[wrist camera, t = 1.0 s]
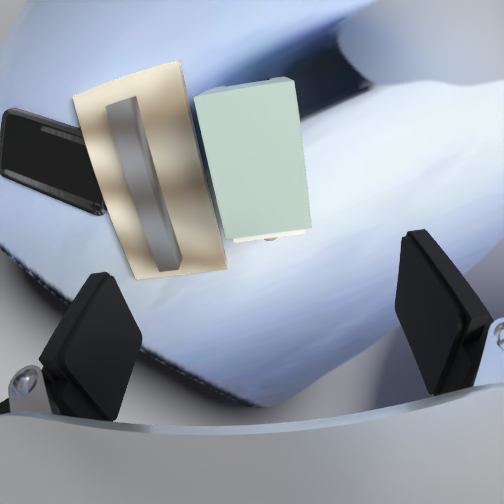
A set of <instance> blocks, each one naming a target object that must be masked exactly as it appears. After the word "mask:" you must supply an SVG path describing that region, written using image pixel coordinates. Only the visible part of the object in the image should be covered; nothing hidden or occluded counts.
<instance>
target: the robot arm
mask: <svg viewBox="0 0 504 504" xmlns="http://www.w3.org/2000/svg"><path fill="white" fill-rule="evenodd" d="M395 311H396V314H397V317H398V319H399V321H400V324H401V326H402V328H403V330H404V333H405V335H406V338H407V339H408V342H409V345H410V347H411V349H412V352H413V354H414V357H415V359H416V362H417V364H418V367H419V370H420V372H421V374H422V377H423V380H424V382H425V385H426V388H427V391H428V392H429V394H434V397H430V398H426V399H422V400H418V401H413V402H409V403H405V404H400V405H395V406H391V407H386V408H381V409H376V410H371V411H366V412H360V413H354V414H349V415H342V416H336V417H329V418H322V419H315V420H306V421H297V422H286V423H275V424H261V425H245V426H211V427H210V426H208V427H207V426H205V427H204V426H199V427H198V426H196V427H195V426H192V427H191V426H160V425H143V424H129V423H119V422H113V421H114V420H116V418H117V416H118V413H119V410H120V407H121V403H122V400H123V397H124V394H125V391H126V388H127V385H128V381H129V379H130V376H131V373H132V369H133V367H134V364H135V361H136V358H137V355H138V352H139V349H140V347H141V344H142V334H141V331H140V329H139V327H138V326H137V324H136V322H135V320H134V318H133V316H132V314H131V312H130V310H129V308H128V306H127V304H126V301H125V299H124V297H123V295H122V293H121V291H120V289H119V287H118V285H117V282H116V280H115V278H114V277H113V276H110V274H109V273H107V272H101V273H93V274H91V275H90V276H89V277H88V279H87V280H86V282H85V283H84V285H83V286H82V288H81V290H80V291H79V293H78V294H77V296H76V297H75V299H74V300H73V302H72V303H71V305H70V307H69V308H68V310H67V311H66V313H65V315H64V316H63V318H62V320H61V321H60V323H59V325H58V326H57V328H56V330H55V331H54V333H53V335H52V336H51V338H50V340H49V341H48V343H47V345H46V347H45V348H44V350H43V352H42V354H41V356H40V357H39V361H40V362H41V363H42V365H43V368H42V370H41V369H40V368H39V367H38V366H35V365H30V366H26V367H24V368H22V369H20V370H19V371H18V372H17V373H16V374H15V375H14V376H13V378H12V379H11V381H10V384H9V387H8V394H9V398H7V399H6V400H4V401H3V402H1V403H0V504H504V318H500V319H497V320H495V321H494V320H493V319H492V317H491V316H490V313H489V312H488V311H487V309H486V307H485V306H484V305H483V303H482V302H481V301H480V299H479V297H478V296H477V294H476V293H475V292H474V291H473V289H472V288H471V286H470V285H469V284H468V282H467V281H466V279H465V278H464V277H463V275H462V274H461V273H460V271H459V270H458V269H457V268H456V266H455V265H454V264H453V262H452V261H451V260H450V259H449V257H448V256H447V255H446V254H445V252H444V251H443V250H442V249H441V247H440V246H439V245H438V244H437V242H436V241H435V240H434V239H433V238H432V236H431V235H430V234H429V233H428V232H427V231H426V230H425V229H422V230H414V231H408V232H407V234H406V236H405V237H402V240H401V252H400V263H399V273H398V282H397V291H396V299H395Z"/></svg>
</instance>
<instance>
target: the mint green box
mask: <svg viewBox="0 0 504 504" xmlns="http://www.w3.org/2000/svg"><path fill="white" fill-rule="evenodd" d="M194 102H195V107H196V111H197V116H198V120H199V125H200V129H201V134H202V138H203V143H204V147H205V152H206V156H207V160H208V165H209V169H210V174H211V178H212V182H213V186H214V191H215V195H216V199H217V204H218V208H219V212H220V216H221V220H222V225H223V229H224V233H225V237H226V239H233V242H234V243H237V242H245V241H252V240H260V239H264V240H267V241H271V240H275V239H276V238H278V237H282V236H290V235H298V234H305V233H306V230H305V229H308V228H311V216H310V206H309V196H308V186H307V176H306V167H305V159H304V150H303V142H302V134H301V126H300V119H299V112H298V105H297V98H296V91H295V84H294V81H293V80H291V79H289V78H286V77H277V78H270V80H266V81H259V82H252V83H246V84H240V85H234V86H228V87H226V86H221V87H216V88H211V89H209V90H207V91H205V92H203V93H201V94H199V95H197V96H196V97H194Z"/></svg>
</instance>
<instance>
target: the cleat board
mask: <svg viewBox="0 0 504 504" xmlns="http://www.w3.org/2000/svg"><path fill="white" fill-rule="evenodd" d="M72 97H73V101H74V105H75V108H76V112H77V116H78V119H79V123H80V127H81V130H82V134H83V137H84V140H85V144H86V147H87V150H88V153H89V157H90V160H91V163H92V166H93V169H94V172H95V175H96V178H97V181H98V184H99V187H100V190H101V192H102V195H103V198H104V201H105V204H106V206H107V209H108V212H109V214H110V217H111V220H112V222H113V225H114V228H115V230H116V233H117V235H118V238H119V240H120V243H121V245H122V248H123V250H124V253H125V255H126V257H127V260H128V262H129V264H130V267H131V269H132V271H133V274H134V276H135V278H136V280H141V279H150V278H159V277H167V276H176V275H184V274H193V273H201V272H209V271H217V270H226V269H227V260H226V256H225V252H224V248H223V244H222V240H221V236H220V232H219V228H218V224H217V220H216V216H215V211H214V207H213V203H212V199H211V195H210V191H209V187H208V182H207V178H206V174H205V170H204V165H203V161H202V157H201V153H200V148H199V144H198V140H197V135H196V131H195V126H194V122H193V118H192V113H191V109H190V104H189V99H188V95H187V90H186V86H185V81H184V76H183V72H182V67H181V62H180V60H177V61H173V62H169V63H165V64H162V65H158V66H155V67H151V68H148V69H145V70H142V71H138V72H135V73H132V74H129V75H126V76H123V77H120V78H117V79H115V80H112V81H109V82H106V83H104V84H101V85H98V86H96V87H93V88H91V89H88V90H86V91H83V92H81V93H78V94H76V95H73V96H72Z"/></svg>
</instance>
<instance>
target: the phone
mask: <svg viewBox="0 0 504 504" xmlns="http://www.w3.org/2000/svg"><path fill="white" fill-rule="evenodd" d="M0 174H1V175H2V176H3V177H5V178H8V179H10V180H12V181H15V182H17V183H19V184H22V185H24V186H26V187H29V188H31V189H34V190H36V191H38V192H41V193H43V194H46V195H48V196H50V197H53V198H55V199H58V200H60V201H62V202H65V203H67V204H70V205H72V206H75V207H77V208H79V209H82V210H84V211H87V212H89V213H92V214H94V215H98V216H99V215H103V214H104V213H105V212H106V211H107V210H108V209H107V206H106V204H105V201H104V198H103V195H102V192H101V190H100V187H99V184H98V181H97V178H96V175H95V172H94V169H93V166H92V163H91V160H90V157H89V153H88V150H87V147H86V144H85V140H84V137H83V134H82V130H81V128H77V127H74V126H71V125H68V124H65V123H62V122H58V121H55V120H52V119H49V118H46V117H43V116H40V115H36V114H33V113H30V112H27V111H23V110H20V109H17V108H11V109H9V110H6V111H5V112H4V114H3V117H2V123H1V130H0Z"/></svg>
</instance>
